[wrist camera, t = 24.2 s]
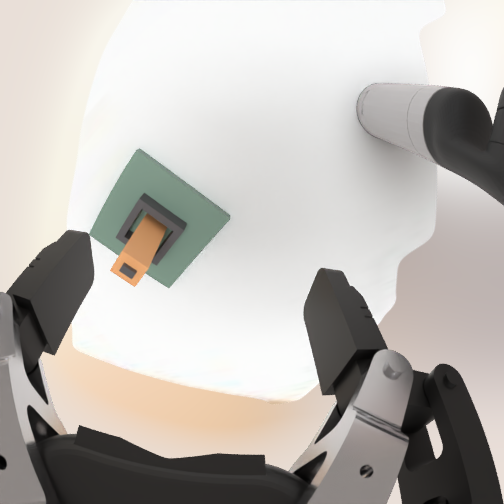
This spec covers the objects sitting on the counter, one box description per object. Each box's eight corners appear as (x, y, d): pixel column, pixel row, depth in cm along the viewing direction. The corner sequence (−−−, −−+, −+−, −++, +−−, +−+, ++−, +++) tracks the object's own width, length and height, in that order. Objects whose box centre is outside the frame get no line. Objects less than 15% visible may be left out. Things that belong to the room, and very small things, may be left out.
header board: (229, 215, 44) (229, 226, 41) (170, 283, 51) (166, 297, 47) (139, 148, 37) (130, 154, 34) (92, 230, 44) (82, 241, 40)
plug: (168, 224, 43) (147, 271, 32) (156, 241, 44) (133, 289, 33) (148, 210, 41) (120, 253, 30) (136, 228, 43) (108, 273, 32)
